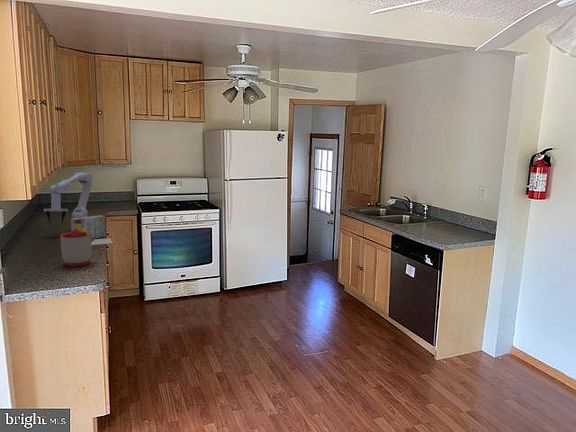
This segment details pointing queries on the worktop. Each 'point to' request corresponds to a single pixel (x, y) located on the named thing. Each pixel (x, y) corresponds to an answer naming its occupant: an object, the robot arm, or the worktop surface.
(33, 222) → the worktop surface
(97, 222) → the snack box
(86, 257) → the citrus juicer
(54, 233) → the worktop surface
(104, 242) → the mat
